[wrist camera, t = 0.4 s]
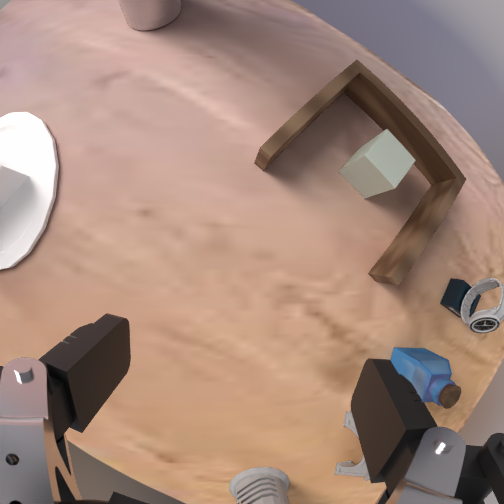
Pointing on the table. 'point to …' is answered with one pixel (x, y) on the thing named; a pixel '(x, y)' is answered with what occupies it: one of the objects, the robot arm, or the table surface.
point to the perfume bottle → (427, 375)
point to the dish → (25, 184)
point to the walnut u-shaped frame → (414, 141)
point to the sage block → (377, 165)
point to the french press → (260, 486)
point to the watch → (474, 304)
